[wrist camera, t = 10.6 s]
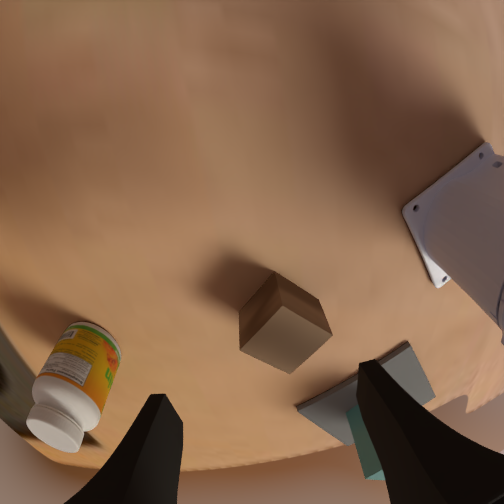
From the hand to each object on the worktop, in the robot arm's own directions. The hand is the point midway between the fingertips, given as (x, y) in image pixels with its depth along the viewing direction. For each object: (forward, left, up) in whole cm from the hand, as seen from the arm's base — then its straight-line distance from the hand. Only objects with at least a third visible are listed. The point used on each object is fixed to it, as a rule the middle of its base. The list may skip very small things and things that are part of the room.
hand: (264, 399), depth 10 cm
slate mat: (0, +21, -10) cm, 23 cm away
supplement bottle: (+15, -2, -11) cm, 18 cm away
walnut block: (0, +4, -11) cm, 11 cm away
